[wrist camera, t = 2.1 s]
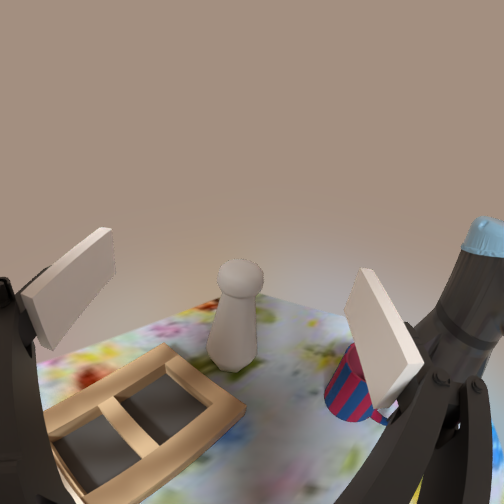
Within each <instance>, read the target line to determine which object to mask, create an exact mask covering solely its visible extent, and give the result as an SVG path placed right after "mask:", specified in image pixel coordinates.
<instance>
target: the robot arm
mask: <svg viewBox="0 0 504 504" xmlns="http://www.w3.org/2000/svg"><path fill="white" fill-rule="evenodd" d="M115 274H116V269H115V259H114V249H113V236H112V229H110V228H103V227H100V228H99V229H97V230H96V231H95V232H93V233H92V234H91V235H90V236H88V237H87V238H86V239H84V240H83V241H82V242H80V243H79V244H78V245H76V246H75V247H74V248H72V249H71V250H70V251H69V252H67V253H66V254H65V255H64V256H63V257H61V258H60V259H59V260H58V261H57V262H55V263H54V264H53V265H51V266H49V267H47V268H45V269H43V270H42V271H41V272H40V273H39V274H38V275H37V276H35V277H34V278H33V279H32V281H29V282H28V283H27V284H26V285H25V286H24V287H23V288H22V289H21V290H20V291H19V292H17V293H16V294H15V295H14V292H13V289H12V286H11V283H10V280H9V279H8V278H6V277H0V504H76V502H75V500H74V499H73V497H72V496H71V494H70V493H69V492H68V491H67V489H66V488H65V486H64V484H63V482H62V479H61V477H60V474H59V471H58V468H57V465H56V462H55V458H54V455H53V452H52V448H51V445H50V441H49V437H48V433H47V429H46V424H45V420H44V415H43V409H42V404H41V398H40V391H39V384H38V376H37V366H36V354H35V345H34V342H33V339H34V338H35V337H36V336H37V338H38V340H39V342H40V344H41V346H43V347H45V348H47V349H49V350H52V351H53V350H54V349H55V348H56V346H57V345H58V344H59V342H60V341H61V340H62V338H63V337H64V336H65V334H66V333H67V332H68V330H69V329H70V328H71V327H72V325H73V324H74V323H75V321H76V320H77V319H78V318H79V316H80V315H81V314H82V313H83V311H84V310H85V309H86V308H87V306H88V305H89V304H90V303H91V301H92V300H93V299H94V298H95V297H96V296H97V294H98V293H99V292H100V291H101V290H102V288H103V287H104V286H105V285H106V284H107V283H108V282H109V280H110V279H111V278H112V277H113V276H114V275H115ZM344 312H345V315H346V318H347V321H348V324H349V327H350V330H351V333H352V336H353V339H354V343H355V346H356V349H357V352H358V355H359V359H360V362H361V365H362V369H363V372H364V376H365V379H366V383H367V386H368V390H369V394H370V397H371V401H372V405H373V409H381V408H389V407H390V406H391V405H392V404H393V403H394V402H395V400H396V399H397V402H398V405H399V407H398V408H397V409H396V410H395V411H394V412H393V413H392V414H391V415H390V417H389V418H388V419H387V420H386V421H387V422H388V421H389V420H390V421H389V423H388V425H387V426H386V428H385V430H384V432H383V433H382V435H381V437H380V438H379V440H378V442H377V443H376V445H375V447H374V448H373V450H372V451H371V453H370V455H369V456H368V458H367V459H366V461H365V462H364V464H363V465H362V467H361V468H360V470H359V471H358V472H357V474H356V475H355V477H354V478H353V479H352V481H351V482H350V483H349V485H348V486H347V487H346V489H345V490H344V491H343V492H342V494H341V495H340V496H339V498H338V499H337V500H336V501H335V502H334V504H409V503H410V501H411V499H412V497H413V495H414V493H415V491H416V489H417V487H418V485H419V483H420V481H421V479H422V477H423V480H422V485H421V489H420V493H419V497H418V501H417V504H489V500H490V492H491V481H492V425H491V413H490V404H489V396H488V389H487V387H486V384H485V383H484V381H483V380H482V379H481V378H482V375H483V373H484V370H485V368H486V365H487V363H488V360H489V358H490V355H491V352H492V350H493V348H494V347H495V345H496V344H497V343H498V341H499V339H500V338H501V337H502V336H504V221H502V220H499V219H496V218H492V217H487V216H480V217H478V218H476V219H475V220H474V221H473V222H472V224H471V227H470V229H469V232H468V234H467V236H466V239H465V241H464V243H463V244H462V245H461V252H460V254H459V257H458V260H457V262H456V264H455V267H454V269H453V271H452V274H451V276H450V278H449V281H448V282H447V284H446V286H445V288H444V291H443V293H442V295H441V297H440V299H439V301H438V303H437V305H436V306H435V308H434V309H433V310H432V311H431V312H430V313H429V314H428V315H427V316H426V317H425V318H424V319H423V320H422V321H420V322H419V323H418V324H417V325H416V326H415V327H414V328H413V327H412V326H411V325H410V324H409V323H408V322H403V321H402V319H401V317H400V315H399V313H398V312H397V310H396V308H395V306H394V305H393V303H392V301H391V299H390V298H389V296H388V294H387V293H386V291H385V289H384V288H383V286H382V284H381V282H380V281H379V279H378V278H377V276H376V274H375V273H374V271H373V270H372V269H366V268H360V269H359V271H358V274H357V277H356V279H355V282H354V285H353V288H352V290H351V293H350V295H349V298H348V301H347V303H346V306H345V308H344ZM459 423H460V428H459V429H458V424H459ZM423 474H424V476H423Z"/></svg>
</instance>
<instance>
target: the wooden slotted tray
mask: <svg viewBox="0 0 504 504" xmlns="http://www.w3.org/2000/svg"><path fill="white" fill-rule="evenodd" d="M246 407H247V405H245V404H244V403H242V402H241V401H240V400H238V399H237V398H235V397H234V396H232V395H231V394H229V393H228V392H227V391H225V390H224V389H222V388H221V387H220V386H218V385H217V384H216V383H214V382H213V381H211V380H210V379H209V378H207V377H206V376H205V375H204V374H202V373H201V372H200V371H198V370H197V369H196V368H194V367H193V366H192V365H191V364H189V363H188V362H187V361H186V360H184V359H183V358H182V357H181V356H180V355H178V354H177V353H176V352H175V351H174V350H172V349H171V348H170V347H169V346H168V345H167V344H165V343H162V344H160V345H159V346H157V347H155V348H154V349H152V350H150V351H149V352H147V353H145V354H144V355H142V356H140V357H139V358H137V359H135V360H134V361H132V362H130V363H129V364H127V365H125V366H123V367H122V368H120V369H118V370H117V371H115V372H113V373H111V374H110V375H108V376H106V377H105V378H103V379H101V380H99V381H98V382H96V383H94V384H92V385H91V386H89V387H87V388H85V389H83V390H82V391H80V392H78V393H76V394H74V395H73V396H71V397H69V398H67V399H65V400H64V401H62V402H60V403H58V404H56V405H54V406H53V407H51V408H49V409H47V410H45V411H43V415H44V420H45V424H46V429H47V433H48V437H49V441H50V445H51V448H52V452H53V455H54V458H55V462H56V465H57V468H58V471H59V474H60V477H61V479H62V482H63V484H64V486H65V488H66V489H67V491H68V492H69V493H70V494H71V496H72V497H73V499H74V500H75V502H76V504H139V503H140V502H142V501H143V500H144V499H146V498H147V497H149V496H150V495H151V494H153V493H154V492H156V491H157V490H158V489H160V488H161V487H162V486H164V485H165V484H166V483H168V482H169V481H170V480H171V479H173V478H174V477H175V476H177V475H178V474H179V473H180V472H182V471H183V470H184V469H185V468H186V467H188V466H189V465H190V464H191V463H193V462H194V461H195V460H196V459H197V458H198V457H200V456H201V455H202V454H203V453H204V452H205V451H206V450H208V449H209V448H210V447H211V446H212V445H213V444H214V443H215V442H216V441H218V440H219V439H220V438H221V437H222V436H223V435H224V434H225V433H226V432H227V431H228V430H229V429H230V428H231V427H233V426H234V425H235V424H236V423H237V422H238V421H239V420H240V419H241V418H242V417H243V416H244V415H245V411H246Z"/></svg>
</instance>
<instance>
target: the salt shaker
mask: <svg viewBox="0 0 504 504" xmlns="http://www.w3.org/2000/svg"><path fill="white" fill-rule="evenodd" d="M217 283H218V286H219V288H220V289H221V291H222V294H221V298H220V301H219V304H218V308H217V311H216V314H215V318H214V321H213V324H212V327H211V331H210V334H209V337H208V340H207V344H206V350H207V352H208V354H209V357H210V358H211V360H212V361H213V362H214V363H215V364H216V365H217V366H218V368H219V369H220V370H221V371H228V372H236V373H237V372H238V371H239V370H241V369H242V368H244V367H245V366H247V365H248V364H250V363H251V362H252V360H253V359H254V358H255V356H256V354H257V336H256V307H255V296H256V295H257V294H258V293H259V292H260V291H261V289H262V287H263V283H264V282H263V271H262V270H261V268H260V267H259V266H258V265H257V264H256V263H254V262H252V261H248V260H244V259H234V260H228V261H227V262H226V263H224V264H223V265H221V266H220V270H219V273H218V278H217Z"/></svg>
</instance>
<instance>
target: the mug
mask: <svg viewBox="0 0 504 504" xmlns="http://www.w3.org/2000/svg"><path fill="white" fill-rule="evenodd" d="M324 399H325V403H326V405H327V407H328V409H329V410H330V411H331V412H332V413H333V414H334V415H335V416H336V417H338V418H340V419H342V420H344V421H348V422H360V421H363V420H366V419H367V418H369V417H371V418H372V419H373V420H375V421H376V422H378V423H380V424H382V425H385V426H387V425H388V423H389V421H390V420H389V421H388V422H387V421H386V420H387V419H388V418H385V417H383V416H382V415H381V414H380V413H379V412H378V411H377V409H373V405H372V401H371V397H370V394H369V390H368V386H367V383H366V379H365V376H364V372H363V369H362V365H361V362H360V359H359V355H358V352H357V349H356V346H355V343H353V344H351V345H350V346H349V347H348V349H347V350H346V352H345V354H344V356H343V358H342V360H341V362H340V364H339V366H338V368H337V369H336V371H335V373H334V375H333V377H332V379H331V380H330V382H329V384H328V386H327V388H326V390H325V394H324Z"/></svg>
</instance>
